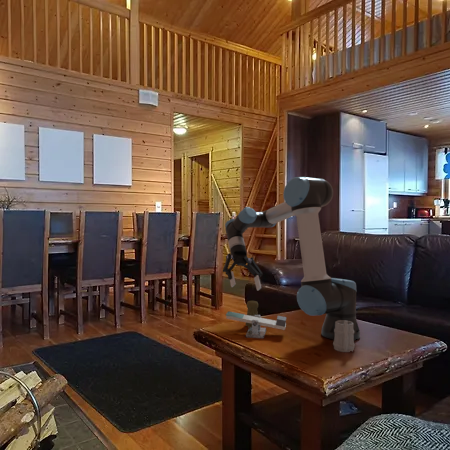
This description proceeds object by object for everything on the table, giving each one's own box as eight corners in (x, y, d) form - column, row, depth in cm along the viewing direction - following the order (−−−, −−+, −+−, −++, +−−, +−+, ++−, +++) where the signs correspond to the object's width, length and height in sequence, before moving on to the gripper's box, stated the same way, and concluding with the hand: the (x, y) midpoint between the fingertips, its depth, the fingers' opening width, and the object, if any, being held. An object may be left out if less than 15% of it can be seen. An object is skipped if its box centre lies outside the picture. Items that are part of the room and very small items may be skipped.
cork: (261, 326, 186) (262, 301, 185) (251, 328, 182) (251, 302, 182) (253, 323, 191) (253, 299, 190) (242, 325, 187) (242, 300, 187)
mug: (353, 346, 158) (354, 314, 158) (357, 357, 147) (358, 322, 146) (332, 345, 160) (332, 313, 159) (334, 355, 148) (335, 321, 148)
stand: (265, 330, 179) (266, 314, 179) (263, 338, 168) (263, 321, 167) (249, 329, 181) (249, 313, 180) (245, 337, 169) (246, 320, 169)
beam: (285, 325, 175) (287, 317, 175) (284, 330, 168) (286, 321, 168) (227, 314, 180) (229, 305, 179) (224, 318, 173) (226, 309, 173)
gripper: (255, 256, 209) (265, 294, 196) (210, 248, 197) (218, 288, 184) (263, 247, 204) (274, 286, 191) (218, 239, 192) (226, 279, 179)
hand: (246, 287), depth 188 cm, fingers open, 13 cm apart
